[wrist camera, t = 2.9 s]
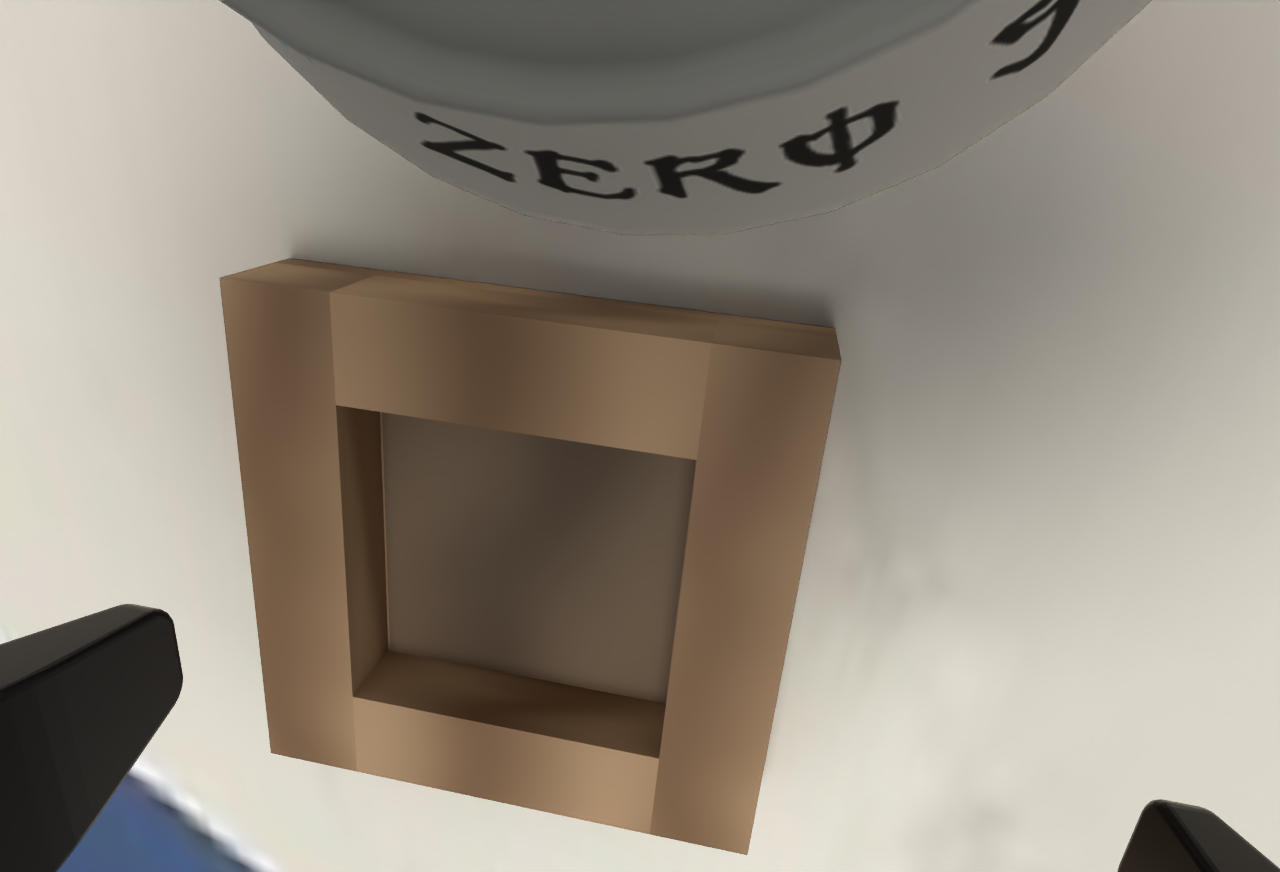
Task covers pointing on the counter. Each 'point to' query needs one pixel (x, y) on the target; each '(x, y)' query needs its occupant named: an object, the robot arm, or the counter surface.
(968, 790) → the counter surface
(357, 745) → the socket block
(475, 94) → the energy drink can
